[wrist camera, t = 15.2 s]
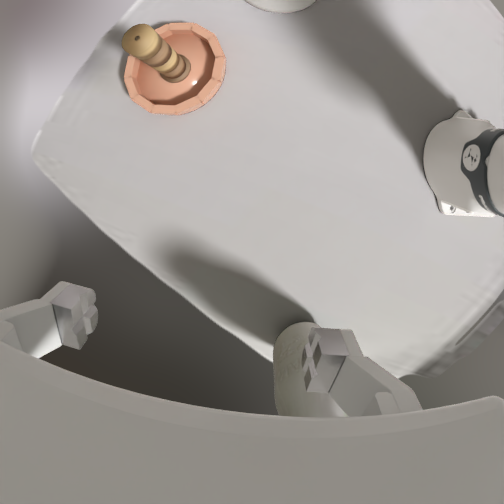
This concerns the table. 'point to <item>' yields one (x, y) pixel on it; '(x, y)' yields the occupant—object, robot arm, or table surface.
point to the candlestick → (281, 5)
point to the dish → (193, 86)
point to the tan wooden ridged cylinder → (156, 53)
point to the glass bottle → (298, 377)
